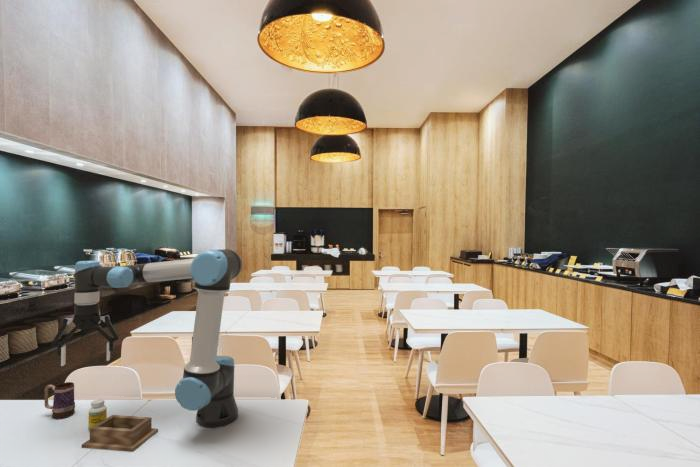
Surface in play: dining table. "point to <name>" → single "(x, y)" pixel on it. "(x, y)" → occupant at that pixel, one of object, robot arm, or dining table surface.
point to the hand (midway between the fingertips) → (86, 362)
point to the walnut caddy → (120, 433)
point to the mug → (61, 400)
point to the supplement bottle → (97, 412)
